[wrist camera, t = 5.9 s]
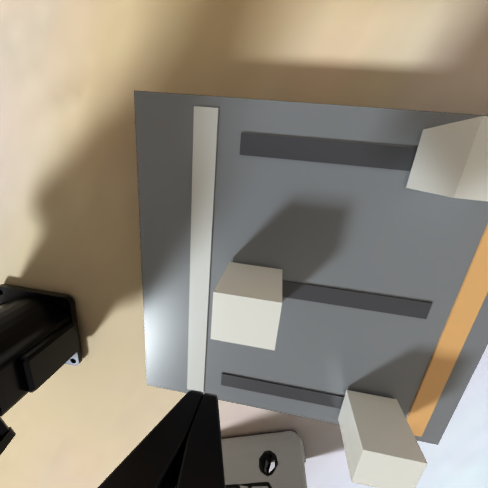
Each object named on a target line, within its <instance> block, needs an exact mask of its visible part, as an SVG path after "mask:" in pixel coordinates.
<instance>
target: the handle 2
mask: <svg viewBox="0 0 488 488" xmlns="http://www.w3.org/2000/svg"><path fill="white" fill-rule="evenodd" d="M406 188H409V189H414V190H419V191H423V192H428V193H433V194H438V195H442V196H447V197H452V198H459V199H469V200H478V201H488V116H480V117H476V118H471V119H467V120H463V121H458V122H454V123H449V124H445V125H441V126H436V127H432V128H428V129H423V131H422V135H421V138H420V142H419V145H418V148H417V152H416V155H415V159H414V162H413V165H412V169H411V172H410V176H409V179H408V182H407V186H406Z"/></svg>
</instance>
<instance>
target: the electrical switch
mask: <svg viewBox="0 0 488 488" xmlns="http://www.w3.org/2000/svg"><path fill="white" fill-rule="evenodd" d="M221 442H222V453H223V465H224V476H225V487H226V488H307V483H306V475H305V466H304V462H306V460H305V452H304V444H303V441H302V439H301V438H300V437H299V436H298V434H297V433H296V432H293V431H285V432H277V433H268V434H260V435H252V436H243V437H235V438H226V439H221ZM271 462H275V468H274V469H273V470H272V471H271V472H270V473H268V472H269V468H270V464H271Z"/></svg>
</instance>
